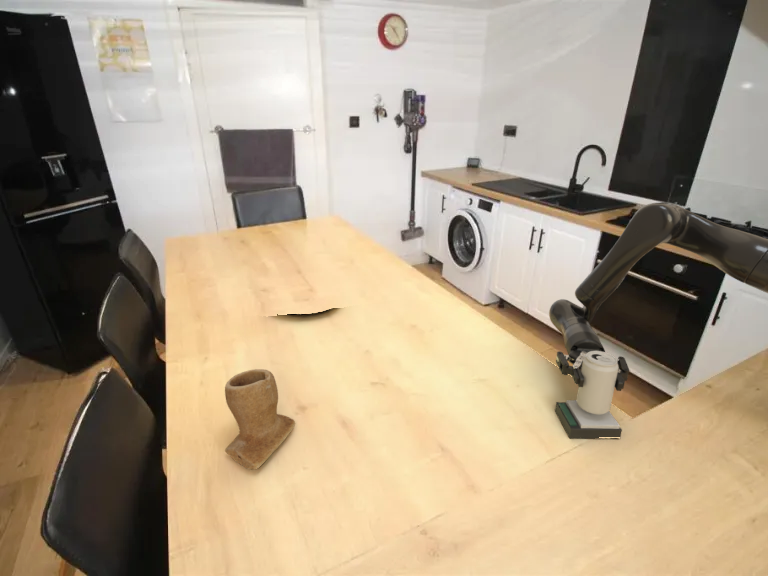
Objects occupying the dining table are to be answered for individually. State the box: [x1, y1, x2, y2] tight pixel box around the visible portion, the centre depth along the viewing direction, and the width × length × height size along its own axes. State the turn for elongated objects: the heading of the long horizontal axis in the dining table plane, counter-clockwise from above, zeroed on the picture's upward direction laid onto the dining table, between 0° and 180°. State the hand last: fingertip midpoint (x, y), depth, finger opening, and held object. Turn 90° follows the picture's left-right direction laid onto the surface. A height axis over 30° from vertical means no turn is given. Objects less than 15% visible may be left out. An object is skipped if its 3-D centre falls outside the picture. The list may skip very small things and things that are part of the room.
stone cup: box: [224, 368, 296, 470], centre depth 82 cm, size 15×12×15 cm
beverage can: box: [576, 351, 619, 415], centre depth 84 cm, size 6×6×12 cm
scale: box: [554, 399, 623, 440], centre depth 87 cm, size 10×9×3 cm
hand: (600, 385), depth 81 cm, fingers closed on beverage can, 6 cm apart
